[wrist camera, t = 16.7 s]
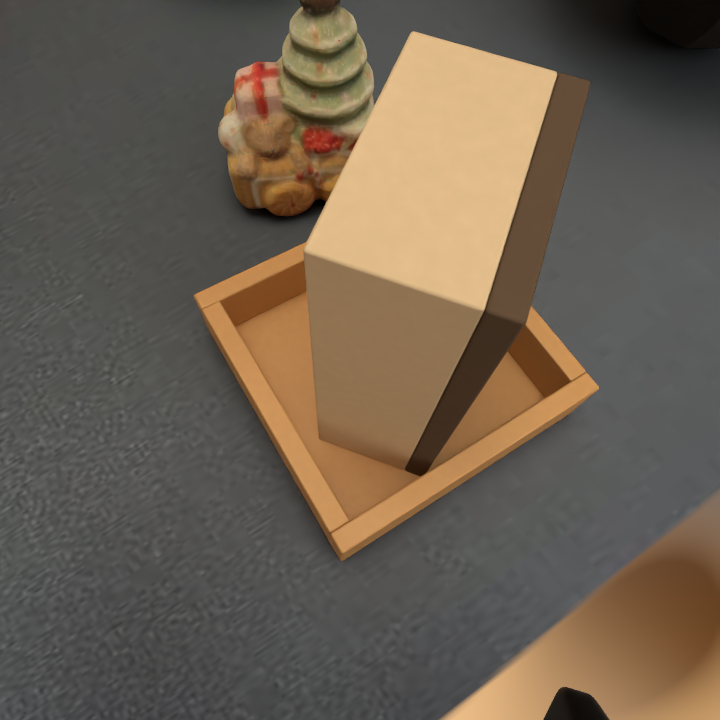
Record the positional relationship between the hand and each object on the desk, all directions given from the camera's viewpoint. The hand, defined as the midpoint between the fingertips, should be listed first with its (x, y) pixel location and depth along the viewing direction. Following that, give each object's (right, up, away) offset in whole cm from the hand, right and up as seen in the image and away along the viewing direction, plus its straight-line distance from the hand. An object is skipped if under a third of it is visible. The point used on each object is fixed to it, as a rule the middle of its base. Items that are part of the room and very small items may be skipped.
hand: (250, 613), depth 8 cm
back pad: (+3, +3, +16) cm, 16 cm away
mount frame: (+3, +3, +17) cm, 17 cm away
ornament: (-1, +13, +21) cm, 25 cm away
